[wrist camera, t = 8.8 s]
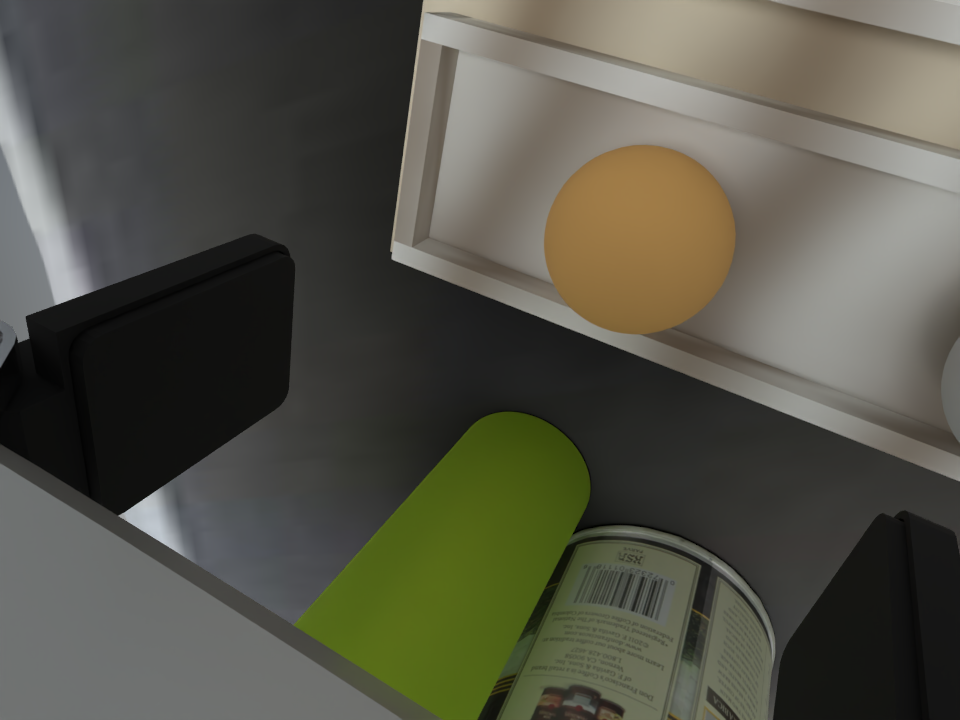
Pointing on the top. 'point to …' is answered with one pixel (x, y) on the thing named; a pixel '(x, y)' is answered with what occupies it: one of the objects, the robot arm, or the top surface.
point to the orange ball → (639, 239)
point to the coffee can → (639, 636)
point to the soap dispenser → (458, 566)
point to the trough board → (738, 169)
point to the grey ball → (952, 389)
